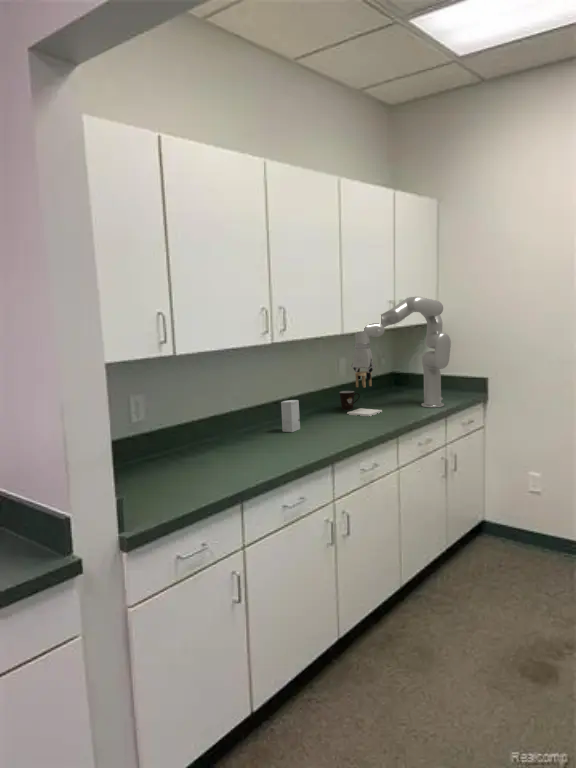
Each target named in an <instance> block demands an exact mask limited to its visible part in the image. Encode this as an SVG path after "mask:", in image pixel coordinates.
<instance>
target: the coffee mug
mask: <svg viewBox="0 0 576 768" xmlns="http://www.w3.org/2000/svg"><path fill="white" fill-rule="evenodd" d="M355 395H358V397H357V399H356V400H354V399H355ZM339 398H340V405H341V410H342V409H343V411H351V410H350V409H352V410H353V409H354V404H355V403H356V402H357V401H359V399H360V398H361V397H360V393H357V392H356V393H355V391H354V390H341V391H339Z"/></svg>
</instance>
